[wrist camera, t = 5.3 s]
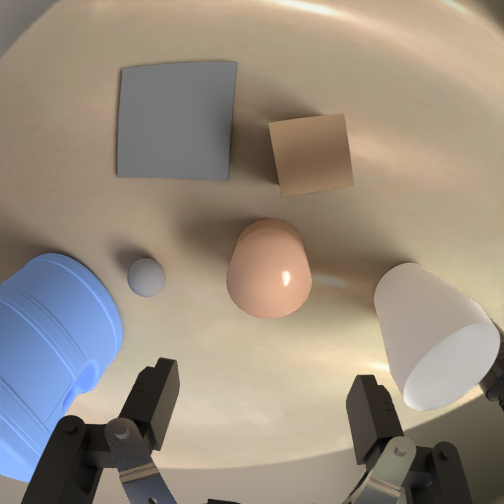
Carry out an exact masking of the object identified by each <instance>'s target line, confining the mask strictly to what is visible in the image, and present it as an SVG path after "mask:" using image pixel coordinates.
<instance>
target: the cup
mask: <svg viewBox="0 0 504 504" xmlns="http://www.w3.org/2000/svg"><path fill="white" fill-rule="evenodd" d="M374 305H375V309H376V312H377V316H378V320H379V324H380V328H381V332H382V337H383V341H384V345H385V349H386V354H387V358H388V363H389V368H390V371H391V375H392V377H393V379H394V381H395V382H396V384H397V386H398V388H399V390H400V392H401V395H402V397H403V399H404V401H405V403H406V404H407V405H408V406H409V407H410V408H412V409H415V410H420V411H427V410H433V409H437V408H441V407H443V406H446V405H448V404H450V403H452V402H454V401H456V400H458V399H459V398H461V397H462V396H464V395H465V394H467V393H468V392H469V391H470V390H472V389H473V388H474V387H475V386H476V385H477V384H478V383H479V382H480V381H481V380H482V379H483V377H484V376H485V375H486V374H487V372H488V371H489V369H490V368H491V366H492V365H493V363H494V361H495V359H496V357H497V354H498V351H499V347H500V334H499V331H498V330H497V328H496V327H495V326H494V324H493V323H492V322H491V321H490V319H489V318H488V317H487V315H486V314H485V313H484V311H483V310H482V308H481V307H480V306H479V305H478V304H477V303H476V302H475V301H474V300H472V299H471V298H469V297H468V296H467V295H465V294H464V293H462V292H461V291H459V290H458V289H456V288H455V287H453V286H452V285H450V284H449V283H447V282H446V281H444V280H443V279H441V278H440V277H438V276H437V275H435V274H434V273H432V272H430V271H429V270H427V269H426V268H424V267H423V266H421V265H419V264H416V263H404V264H400V265H398V266H395V267H394V268H392V269H391V270H389V271H388V272H387V273H386V274H385V275H384V276H383V277H382V278H381V280H380V281H379V283H378V285H377V287H376V289H375V293H374Z"/></svg>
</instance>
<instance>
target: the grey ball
mask: <svg viewBox="0 0 504 504" xmlns="http://www.w3.org/2000/svg"><path fill="white" fill-rule="evenodd" d="M127 279H128V284H129V286H130V288H131V290H132V291H133V292H134V293H136V294H137V295H139V296H142V297H151V296H154V295H156V294H158V293H159V292H160V291H161V290H162V288H163V286H164V283H165V273H164V270H163V268H162V266H161V265H160V264H159V263H158V262H157V261H155V260H153V259H150V258H142V259H139V260H137V261H135V262H134V263H133V264H132V265H131V267H130V268H129V271H128V275H127Z"/></svg>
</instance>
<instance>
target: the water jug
mask: <svg viewBox="0 0 504 504" xmlns="http://www.w3.org/2000/svg"><path fill="white" fill-rule="evenodd" d="M122 338H123V329H122V322H121V318H120V315H119V312H118V309H117V307H116V305H115V303H114V301H113V299H112V297H111V296H110V294H109V292H108V291H107V289H106V288H105V287H104V285H103V284H102V283H101V282H100V280H99V279H98V278H97V277H96V276H95V275H94V274H93V273H92V272H91V271H90V270H88V269H87V268H86V267H85V266H83V265H82V264H81V263H79V262H77V261H76V260H74V259H72V258H70V257H68V256H65V255H62V254H57V253H46V254H42V255H39V256H37V257H35V258H34V259H32V260H31V261H29V262H28V263H27V264H26V265H25V266H24V267H23V268H22V269H20V270H19V271H17V272H16V273H15V274H13V275H12V276H10V277H9V278H8V279H6V280H5V281H4V282H2V283H1V284H0V475H3V476H6V477H10V478H13V479H17V480H20V481H24V482H28V483H29V482H30V480H31V478H32V475H33V473H34V471H35V468H36V466H37V464H38V462H39V459H40V457H41V455H42V453H43V451H44V449H45V447H46V444H47V442H48V440H49V438H50V436H51V434H52V432H53V430H54V428H55V426H56V424H57V422H58V421H59V420H60V419H61V418H63V417H64V415H65V414H66V412H67V410H68V408H69V407H70V405H71V404H72V402H73V400H74V399H75V397H76V396H77V395H78V394H82V393H86V392H89V391H91V390H92V389H93V388H94V387H95V386H96V385H97V384H98V382H99V380H100V378H101V377H102V375H103V373H104V372H105V370H106V369H107V367H108V365H109V364H110V363H111V362H112V361H113V360H114V358H115V356H116V355H117V353H118V351H119V349H120V347H121V344H122Z"/></svg>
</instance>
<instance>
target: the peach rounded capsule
mask: <svg viewBox="0 0 504 504" xmlns="http://www.w3.org/2000/svg"><path fill="white" fill-rule="evenodd" d="M226 284H227V289H228V292H229V295H230V297H231V299H232V300H233V301H234V303H235V304H236V305H237V306H238V307H239V308H240V309H242V310H243V311H244V312H246V313H248V314H250V315H253V316H256V317H259V318H279V317H283V316H286V315H288V314H290V313H292V312H294V311H295V310H297V309H298V308H299V307H300V306H301V305H302V304H303V303H304V302H305V300H306V299H307V297H308V295H309V293H310V290H311V284H312V277H311V272H310V268H309V264H308V260H307V257H306V253H305V249H304V246H303V242H302V239H301V237H300V235H299V233H298V232H297V231H296V230H295V229H294V228H293V227H292V226H291V225H290V224H288V223H286V222H284V221H281V220H278V219H261V220H258V221H255V222H253V223H251V224H250V225H248V226H247V227H246V228H245V229H244V230H243V231H242V233H241V234H240V236H239V238H238V240H237V243H236V247H235V250H234V253H233V256H232V259H231V262H230V265H229V269H228V272H227V278H226Z"/></svg>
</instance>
